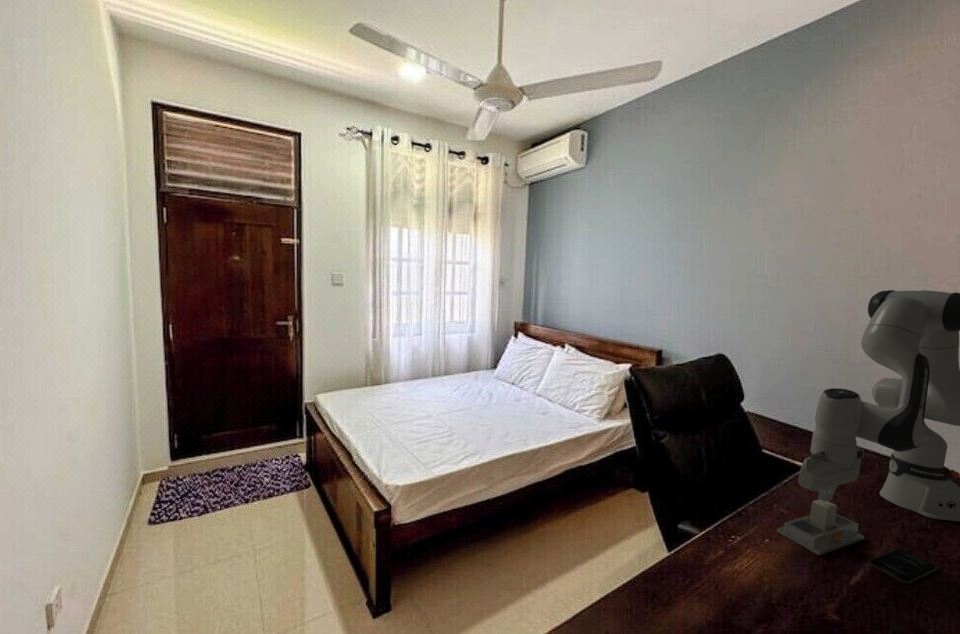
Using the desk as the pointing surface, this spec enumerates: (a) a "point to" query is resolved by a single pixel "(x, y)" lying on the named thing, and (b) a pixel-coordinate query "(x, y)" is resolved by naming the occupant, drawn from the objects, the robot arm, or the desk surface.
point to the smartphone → (903, 565)
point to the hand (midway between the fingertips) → (825, 499)
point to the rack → (821, 534)
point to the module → (823, 514)
